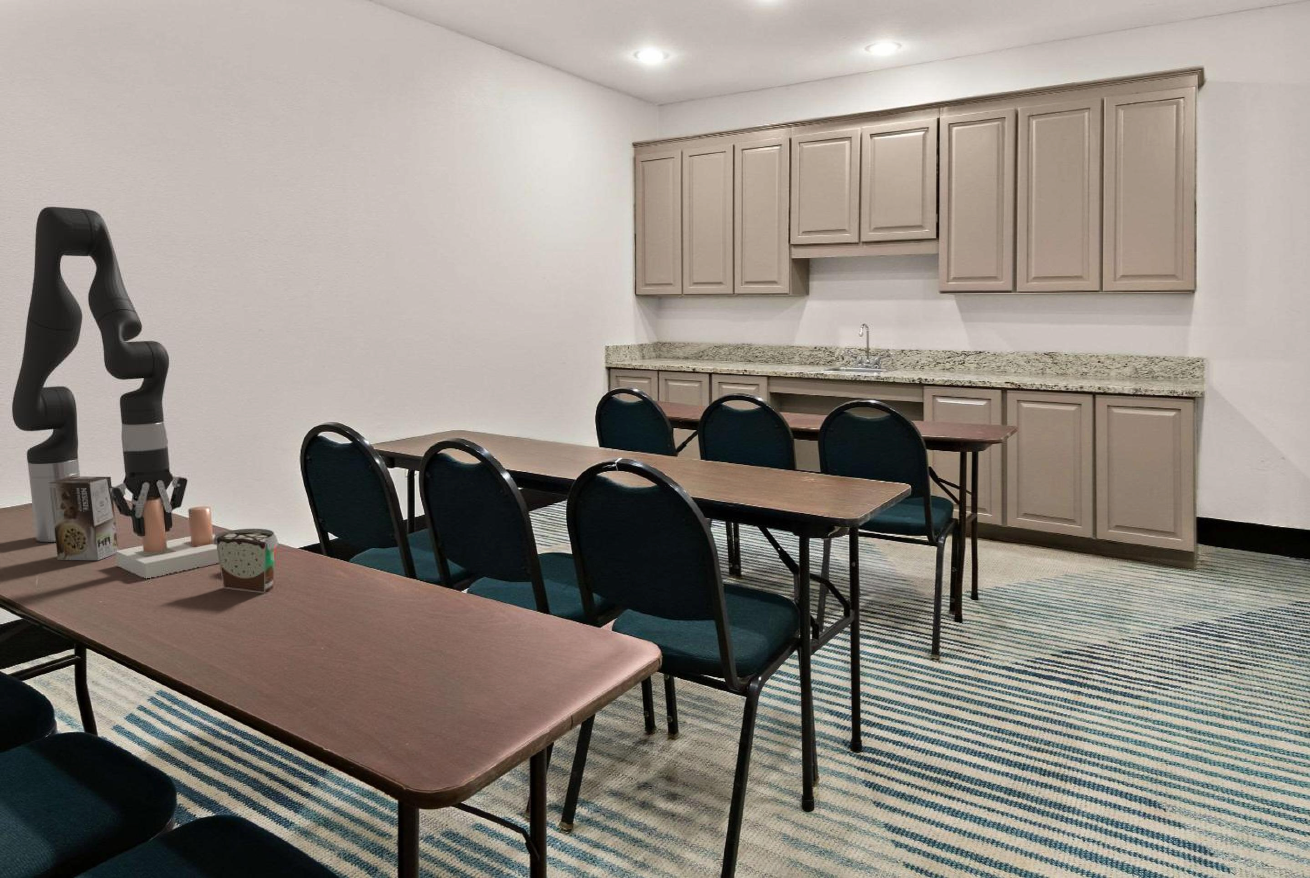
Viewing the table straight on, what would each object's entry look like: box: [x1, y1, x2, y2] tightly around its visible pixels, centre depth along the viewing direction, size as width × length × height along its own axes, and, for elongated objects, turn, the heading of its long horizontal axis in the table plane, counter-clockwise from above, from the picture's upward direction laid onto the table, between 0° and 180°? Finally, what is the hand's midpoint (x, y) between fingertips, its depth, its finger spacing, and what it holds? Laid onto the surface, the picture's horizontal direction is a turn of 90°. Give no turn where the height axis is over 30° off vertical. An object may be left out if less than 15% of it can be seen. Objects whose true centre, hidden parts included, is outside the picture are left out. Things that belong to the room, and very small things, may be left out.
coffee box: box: [49, 476, 119, 561], centre depth 180 cm, size 9×6×16 cm
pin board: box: [115, 506, 219, 580], centre depth 177 cm, size 14×18×10 cm
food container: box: [214, 528, 279, 594], centre depth 161 cm, size 12×6×10 cm, turn 71°
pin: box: [141, 497, 167, 552], centre depth 172 cm, size 4×4×10 cm
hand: (153, 533), depth 173 cm, fingers closed on pin, 4 cm apart
